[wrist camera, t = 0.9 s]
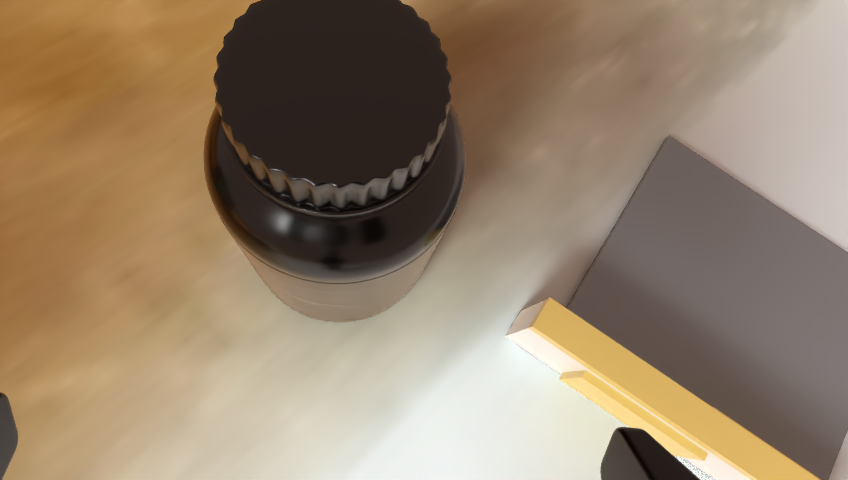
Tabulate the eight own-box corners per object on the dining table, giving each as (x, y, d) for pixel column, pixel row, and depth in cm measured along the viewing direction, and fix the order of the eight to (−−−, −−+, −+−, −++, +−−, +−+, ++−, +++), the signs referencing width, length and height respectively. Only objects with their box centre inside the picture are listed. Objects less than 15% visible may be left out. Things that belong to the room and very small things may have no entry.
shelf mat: (814, 498, 23) (820, 499, 23) (556, 324, 23) (559, 323, 23) (896, 290, 26) (902, 289, 25) (665, 138, 26) (669, 135, 26)
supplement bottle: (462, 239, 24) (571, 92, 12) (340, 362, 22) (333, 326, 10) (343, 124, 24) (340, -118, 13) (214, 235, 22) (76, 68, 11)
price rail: (807, 551, 22) (889, 579, 19) (501, 342, 23) (527, 334, 19) (824, 508, 23) (906, 528, 19) (524, 305, 23) (554, 290, 20)
